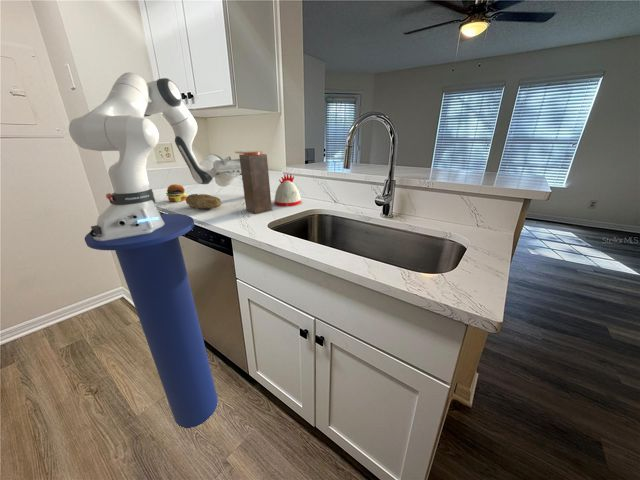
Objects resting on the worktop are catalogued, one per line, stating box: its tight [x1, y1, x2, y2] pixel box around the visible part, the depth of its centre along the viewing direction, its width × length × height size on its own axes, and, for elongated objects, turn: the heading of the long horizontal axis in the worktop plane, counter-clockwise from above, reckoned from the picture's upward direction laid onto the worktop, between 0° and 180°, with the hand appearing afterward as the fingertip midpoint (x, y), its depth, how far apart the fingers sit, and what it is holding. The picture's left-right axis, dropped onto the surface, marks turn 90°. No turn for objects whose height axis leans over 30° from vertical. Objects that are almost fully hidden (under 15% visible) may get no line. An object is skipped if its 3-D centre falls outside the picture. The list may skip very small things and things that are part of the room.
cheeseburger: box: [165, 184, 188, 203], centre depth 148 cm, size 10×11×10 cm
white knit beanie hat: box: [274, 173, 302, 207], centre depth 137 cm, size 14×14×15 cm
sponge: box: [185, 193, 222, 210], centre depth 132 cm, size 13×8×20 cm
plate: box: [234, 150, 263, 155], centre depth 120 cm, size 8×19×1 cm, turn 42°
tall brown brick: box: [238, 153, 273, 215], centre depth 122 cm, size 9×9×26 cm
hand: (238, 157), depth 128 cm, fingers open, 8 cm apart
